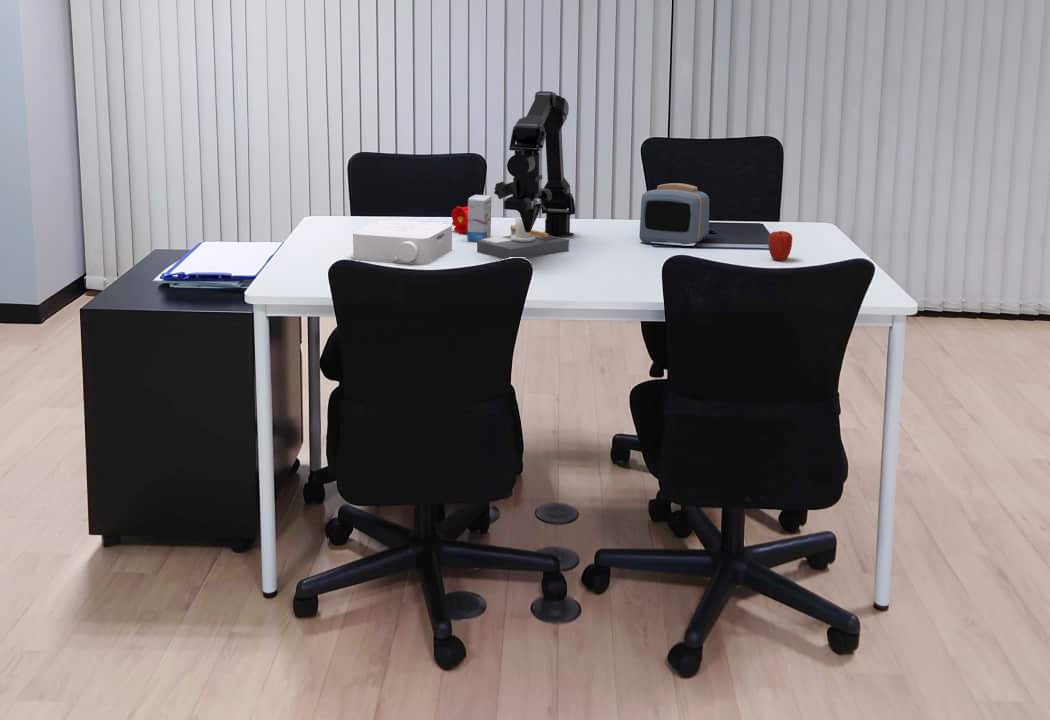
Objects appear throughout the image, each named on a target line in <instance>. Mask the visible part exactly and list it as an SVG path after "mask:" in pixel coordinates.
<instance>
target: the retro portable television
mask: <svg viewBox="0 0 1050 720" xmlns="http://www.w3.org/2000/svg"><path fill="white" fill-rule="evenodd" d="M640 202H641V203H640V219H639V220H640V221H639V240H640V241H641V242H642V243H645V244H647V245H652V244H651V241H652V240H657V241H666V242H675V243H681V244H690V243H694V242H696V241H698V240H699V239H700V238H702V237H703V236H705V235H706V234H708V235H709V232H710V198H709V196H708V194H707V193H705V192H703V191H699V190H698V186H695V185H692V184H687V183H681V182H680V183H679V182H678V183H675V182H674V183H673V182H671V183H664V184H663V183H662V184H659V185H657V187H656V189H652V190H651V189H650V190H648V191H645V192H644V193H643V194H642V196H641V201H640Z"/></svg>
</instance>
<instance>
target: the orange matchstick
mask: <svg viewBox="0 0 1050 720" xmlns="http://www.w3.org/2000/svg"><path fill="white" fill-rule="evenodd" d="M511 230H515V231H516V224H512V225H510V231H511ZM544 232H545V231H539V230H535V229H532V230H531V234H534V235H538V236H542V237H548V233H544Z"/></svg>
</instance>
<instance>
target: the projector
mask: <svg viewBox="0 0 1050 720" xmlns="http://www.w3.org/2000/svg"><path fill="white" fill-rule="evenodd" d="M352 246H353V247H352V248H353V249H352V251H353V252H352V253H353V259H354V260H357V261H367V262H369V260H372V261H371V262H382V261H383V262H384V261H385V262H384V263H395V264H410V265H411V264H412V265H428V264H431V263H433V262H435V261H436V260H438V259H440V258H442V257H443V256H445V255H446V254H448V253H450V252H452V251H453V225H452V224H449V223H438V222H422V221H409V220H406V221H405V220H391V219H386V220H382V219H381V220H378V221H375V222H373V223H371V224H369V225H367V226H364V227H362V228H359V229H358V230H356V231H354V232H352Z"/></svg>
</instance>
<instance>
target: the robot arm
mask: <svg viewBox="0 0 1050 720" xmlns="http://www.w3.org/2000/svg"><path fill="white" fill-rule="evenodd" d="M569 108H570V106H569V103H568V101H567V100H566V98H565V97H562V96H560V95H557V94H556V92H553V91H549V90H548V91H544V90H538V91H536V92H535V94H534V100H533V102H532V104H531V105H530V108H529V109H528V112H527V115H525V116H523V117H520V118H519V119H518V121H517V122H516V123H515V125H514V126H513V127H512V131H511V135H510V137H511V138H510V142H509V148H508V149H509V151H514V155H512V156H510V157H509V159H508V161H507V163H506V168H507V171H508V173H509V174H510V176H512V177H513V178H512V180H513V181H510V182H507V183H505V182H504V181H501V182H497V183H495V186H494V188H493V189H494V191H493V195H496V196H497V197H498V200H501V199H503V198H505V197H507V198H505V199H504V200H503V210H510V211H517V212H518V213H519V214H520V216H519V217H521V218H522V222H523V225H524V229H525V232H527V233H529V232H531V230H533V227H534V225H535V223H536V220H537V218H538V216H539V215H540V213H541V214H542V215H543V214H545V220H544V223H545V225H544V226H545V229H544V231H543V232H544V233H548V235H551V236H555V237H559V238H562V237H568V236H573V235H574V233H573V232H570V231H571V215H576V203H575V199H574V196H573V193H572V191H571V185H570V183H569V182H568V180H567V179H566V178H565V175H564V153H563V151H564V150H563V134H562V133H563V132H562V131H563V130H562V128H563V126H564V124H565V122H566V121H567V119H568V115H569V111H570V109H569ZM544 145H545V157H546V158H545V159H546V177H547V182H546V184H545V185H544V187H543V188H541V187H540V180H543V174H540V169H541V168H540V167H541V165H540V164H541V163H540V161H541V158H540V157H541V153H540V151H542V149H543V148H544ZM539 199H540V203H539Z"/></svg>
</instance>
